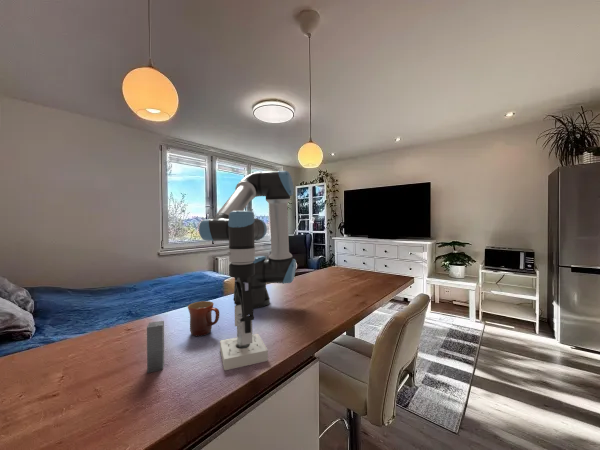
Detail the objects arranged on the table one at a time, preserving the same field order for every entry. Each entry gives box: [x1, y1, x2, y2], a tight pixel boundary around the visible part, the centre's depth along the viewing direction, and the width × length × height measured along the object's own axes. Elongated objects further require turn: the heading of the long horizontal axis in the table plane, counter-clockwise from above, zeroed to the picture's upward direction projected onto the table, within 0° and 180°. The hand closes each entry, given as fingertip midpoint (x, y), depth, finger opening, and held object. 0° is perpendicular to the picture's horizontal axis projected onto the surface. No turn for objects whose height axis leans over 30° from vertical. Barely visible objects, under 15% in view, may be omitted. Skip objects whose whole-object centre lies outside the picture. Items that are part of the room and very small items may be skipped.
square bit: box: [146, 320, 165, 374], centre depth 68 cm, size 4×4×12 cm
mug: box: [187, 300, 220, 337], centre depth 89 cm, size 12×9×10 cm
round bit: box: [236, 313, 249, 349], centre depth 74 cm, size 3×3×12 cm
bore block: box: [219, 333, 269, 371], centre depth 74 cm, size 12×12×3 cm
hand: (242, 333), depth 74 cm, fingers open, 13 cm apart
